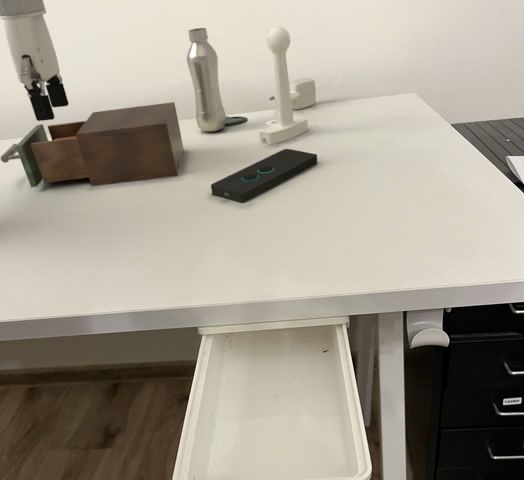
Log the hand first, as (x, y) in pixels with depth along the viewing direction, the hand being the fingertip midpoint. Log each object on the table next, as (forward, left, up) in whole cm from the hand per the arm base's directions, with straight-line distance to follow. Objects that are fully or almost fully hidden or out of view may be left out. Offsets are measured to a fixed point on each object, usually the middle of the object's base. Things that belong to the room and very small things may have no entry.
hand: (53, 112), depth 103 cm
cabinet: (+13, 0, -12) cm, 18 cm away
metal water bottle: (+27, +19, -12) cm, 36 cm away
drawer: (-1, 0, -11) cm, 11 cm away
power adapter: (+46, +28, -12) cm, 56 cm away
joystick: (+42, +10, -12) cm, 45 cm away
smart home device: (+38, -14, -12) cm, 43 cm away
